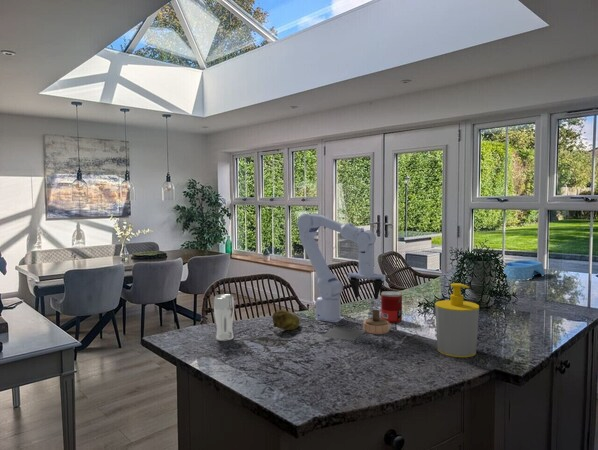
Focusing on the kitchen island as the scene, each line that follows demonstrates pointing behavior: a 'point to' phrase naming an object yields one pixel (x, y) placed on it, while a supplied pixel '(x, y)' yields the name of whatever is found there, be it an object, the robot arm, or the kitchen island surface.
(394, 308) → the canned food
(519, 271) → the dog bowl
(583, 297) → the kitchen island surface
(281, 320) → the potato
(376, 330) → the tan round bowl
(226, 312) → the beer glass
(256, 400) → the kitchen island surface
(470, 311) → the soap bottle
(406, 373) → the kitchen island surface
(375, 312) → the lid
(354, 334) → the mat
